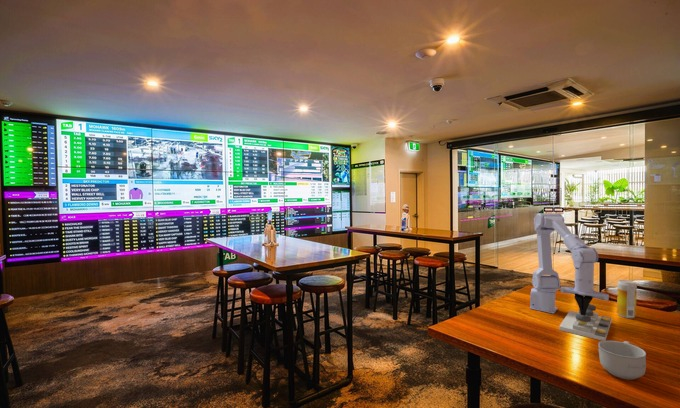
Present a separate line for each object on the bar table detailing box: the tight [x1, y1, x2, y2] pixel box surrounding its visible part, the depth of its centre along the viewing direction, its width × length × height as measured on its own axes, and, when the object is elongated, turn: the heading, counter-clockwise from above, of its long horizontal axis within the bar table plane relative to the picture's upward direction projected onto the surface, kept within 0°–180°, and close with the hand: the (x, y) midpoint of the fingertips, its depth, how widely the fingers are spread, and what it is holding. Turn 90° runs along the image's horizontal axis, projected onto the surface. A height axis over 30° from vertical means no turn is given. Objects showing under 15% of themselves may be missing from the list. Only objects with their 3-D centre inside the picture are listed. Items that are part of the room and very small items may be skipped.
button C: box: [587, 303, 597, 312], centre depth 135 cm, size 5×5×3 cm
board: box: [558, 310, 612, 342], centre depth 130 cm, size 14×22×3 cm, turn 136°
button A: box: [576, 314, 591, 325], centre depth 125 cm, size 5×5×3 cm
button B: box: [578, 309, 594, 316], centre depth 130 cm, size 5×5×3 cm
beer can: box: [616, 279, 638, 319], centre depth 139 cm, size 6×6×15 cm
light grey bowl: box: [597, 340, 647, 381], centre depth 98 cm, size 14×11×8 cm
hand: (583, 314), depth 124 cm, fingers closed
